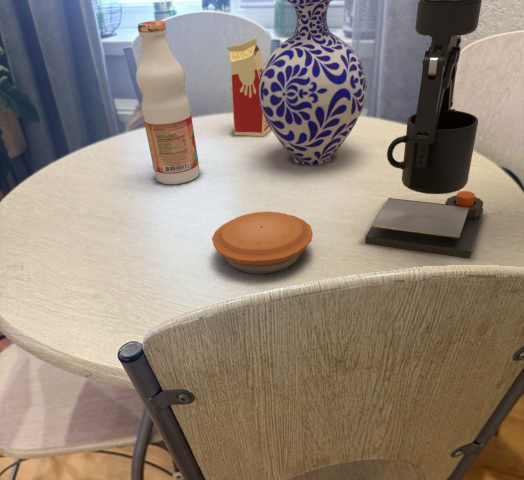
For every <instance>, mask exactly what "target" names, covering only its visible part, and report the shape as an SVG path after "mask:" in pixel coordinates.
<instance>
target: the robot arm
mask: <svg viewBox="0 0 524 480" xmlns="http://www.w3.org/2000/svg"><path fill="white" fill-rule="evenodd" d="M482 1H483V0H419V1H417V10H416V18H415V27H414V28H415V31H416V33H417V34H419V35H421V36H425V37H426V36H429V37H430V38H431V42H430V46H429V47H428V50H425V52H424V57H423V60H422V70H421V79H420V86H419V93H418V98H417V99H418V100H417V105H416V113H415V114H416V119H415V125H414V132H413V135H412V137H409V142H413V143H415V144H414V152H413V161H412V170H411V179H410V188H418V189H427V190H429V188H430V182H431V175H432V167H433V160H434V153H435V146H436V141H435V139H436V137H435V135H436V130H437V125H438V120H439V115H440V110H455V111H456V109H455V108H452V107H453V105H454V102H453V100H454V92H455V84H456V75H457V71H458V62H459V59H460V56H461V50H462V49H461V48H462V47H461V46H460V45H461V43H462V39H461V38H462V36H466V35H469V34H472V33H474V32H475V31H476V30H477V29H478V26H479V19H480V14H481V8H482ZM421 132H427V133H421Z"/></svg>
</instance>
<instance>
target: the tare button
mask: <svg viewBox="0 0 524 480" xmlns="http://www.w3.org/2000/svg"><path fill="white" fill-rule="evenodd" d="M456 195H457V196H456ZM456 195H455V196H456V202H455V204H456V205H458V206H462V207H470V206H473V204H474V198H475V197H476V193H474V192H472V191H468V190H461V191H457V193H456Z"/></svg>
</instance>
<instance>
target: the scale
mask: <svg viewBox="0 0 524 480" xmlns="http://www.w3.org/2000/svg"><path fill="white" fill-rule="evenodd" d="M456 196H457V194H456V195H452V196H450V197H447V198H446V202H445V203H439V202H429V201H421V200H411V199H402V198H395V197H394V198H393V197H388V198H387V200H388V199H395V200H404V201H413V202H422V203H431V204H440V205H449V206H458V205H456V204H455V202H456ZM387 200H386V201H385V203H386V202H387ZM383 207H384V205H383ZM383 207H382V208H383ZM458 207H462V206H458ZM467 208H469V210H468V213H467V216H466V219H465V222H464V225H463V228H462V231H461V234H460V237H459V238H454V237H446V236H439V235H431V234H423V233H416V232H408V231H401V230H393V229H386V228H378V227H372V226H370V228H369V230H368V232H367V233H366V234H365V238H364V243H365V244H368V245H369V244H370V245H377V246H384V247H389V248H390V247H391V248H398V249H404V250H411V251H419V252H425V253H433V254H438V255H439V254H440V255H445V256H446V255H447V256H453V257H461V258H468V259H470V258H471V255H472V251H473V250H474V249H473V248H474V245H475V241H476V238H477V234H478V231H479V227H480V224H481V222H482V221H481V220H482V217H483V213H484V202H483V200H482V199H481V198H479V197H477V196H475V198H474V204H473V206H470V207H467ZM380 212H381V210H380V211H379V213H380ZM377 217H378V215H377V216H376V218H377ZM374 222H375V220H374V221H373V223H374Z"/></svg>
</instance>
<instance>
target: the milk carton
mask: <svg viewBox="0 0 524 480" xmlns="http://www.w3.org/2000/svg"><path fill="white" fill-rule="evenodd" d="M257 40H258V38H257V37H255V38H253V39H251V40H248V41H246V42H244V43H242V44H236V45H231V46H227V47H225V49H227V51H228V52H229V58H230V73H231V74H230V76H231V78H230V79H231V100H232V117H233V131H234V136H250V137H253V136H254V137H265V135H267V134H268V133H269V132H270V131H271V128H270V126H269V125H268V123H267V121H266V119H265V117H264V114H263V111H262V108H261V105H260V99H259V84H260V77H261V73H262V70H263V67H264V65H265V63H264V60H263V57H262V53H261V50H260V48H259V46H258V44H257Z"/></svg>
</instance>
